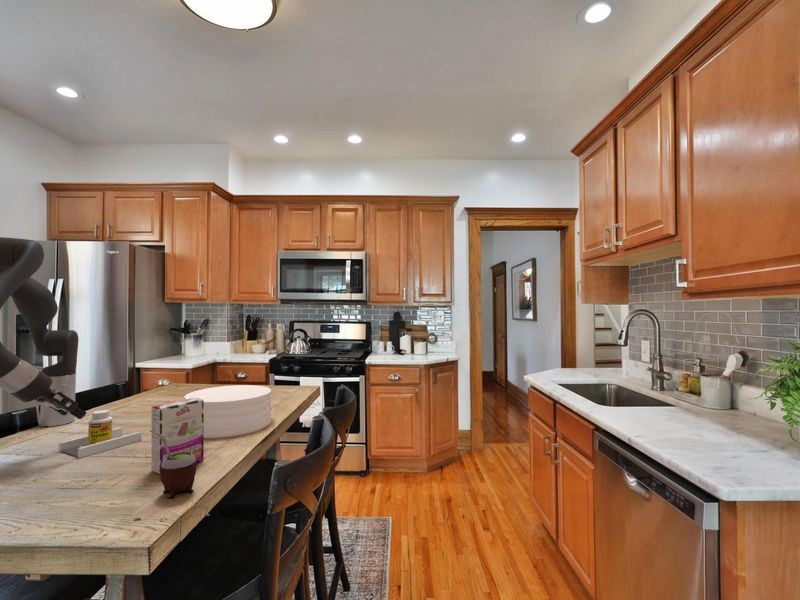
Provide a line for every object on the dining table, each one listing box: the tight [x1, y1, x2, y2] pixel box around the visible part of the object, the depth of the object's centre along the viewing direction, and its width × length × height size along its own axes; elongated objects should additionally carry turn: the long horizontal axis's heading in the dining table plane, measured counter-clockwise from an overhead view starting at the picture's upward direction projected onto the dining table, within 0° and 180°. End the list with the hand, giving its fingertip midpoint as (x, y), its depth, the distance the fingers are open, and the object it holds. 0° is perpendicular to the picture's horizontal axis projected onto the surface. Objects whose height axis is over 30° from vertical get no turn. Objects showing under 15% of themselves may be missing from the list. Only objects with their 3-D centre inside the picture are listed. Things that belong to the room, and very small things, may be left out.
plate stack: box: [183, 384, 272, 439], centre depth 135 cm, size 28×28×12 cm
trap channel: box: [58, 426, 142, 459], centre depth 113 cm, size 16×11×2 cm
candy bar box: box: [151, 398, 205, 476], centre depth 99 cm, size 11×5×16 cm, turn 148°
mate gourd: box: [149, 429, 198, 500], centre depth 84 cm, size 8×8×15 cm
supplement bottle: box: [87, 409, 113, 446], centre depth 113 cm, size 6×6×10 cm
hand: (75, 414), depth 107 cm, fingers open, 8 cm apart
